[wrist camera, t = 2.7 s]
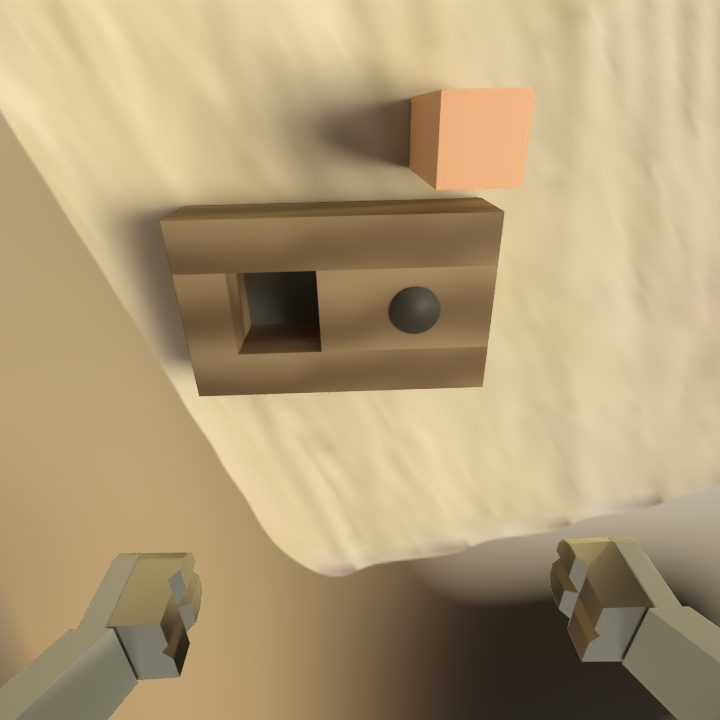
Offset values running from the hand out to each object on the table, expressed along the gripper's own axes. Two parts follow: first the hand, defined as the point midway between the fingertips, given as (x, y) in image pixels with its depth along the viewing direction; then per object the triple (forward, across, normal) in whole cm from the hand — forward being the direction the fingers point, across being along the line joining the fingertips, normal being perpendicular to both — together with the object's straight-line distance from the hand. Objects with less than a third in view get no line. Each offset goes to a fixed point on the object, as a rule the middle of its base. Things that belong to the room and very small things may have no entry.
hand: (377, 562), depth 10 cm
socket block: (+25, +1, +2) cm, 25 cm away
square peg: (+25, -6, -8) cm, 27 cm away
